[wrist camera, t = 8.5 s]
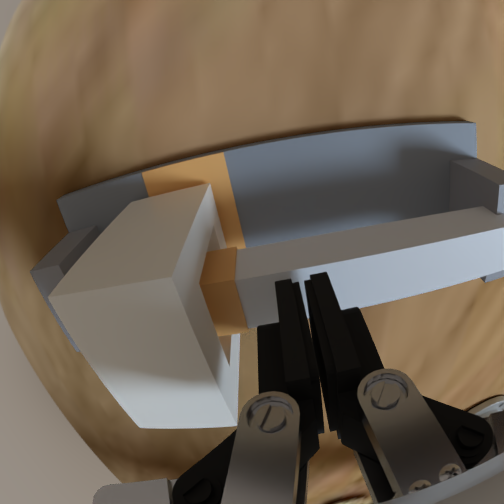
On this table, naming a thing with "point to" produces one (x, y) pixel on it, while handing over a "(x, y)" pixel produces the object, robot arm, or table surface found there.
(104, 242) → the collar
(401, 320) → the table surface
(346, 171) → the rail
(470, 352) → the table surface
